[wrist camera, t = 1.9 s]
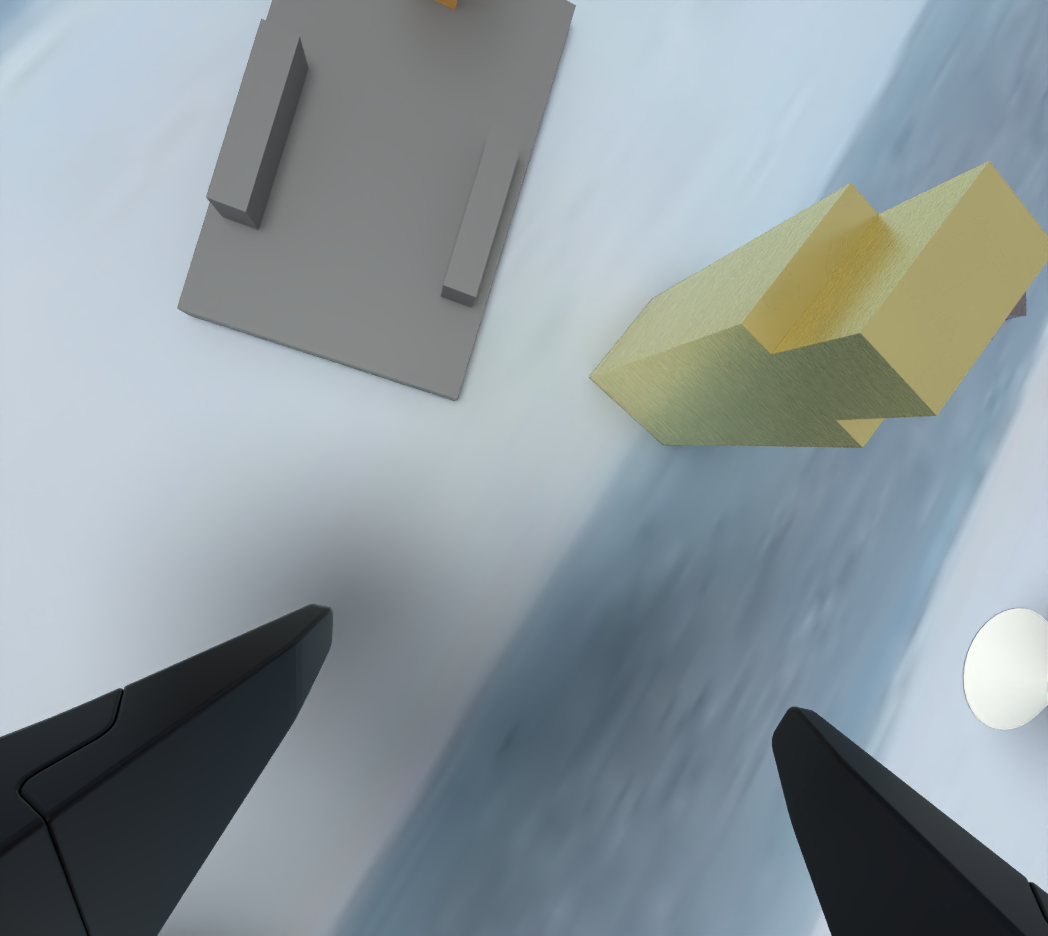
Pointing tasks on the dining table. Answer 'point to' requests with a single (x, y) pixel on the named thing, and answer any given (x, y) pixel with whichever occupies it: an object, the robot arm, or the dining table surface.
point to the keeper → (375, 178)
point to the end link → (830, 320)
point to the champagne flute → (1008, 669)
